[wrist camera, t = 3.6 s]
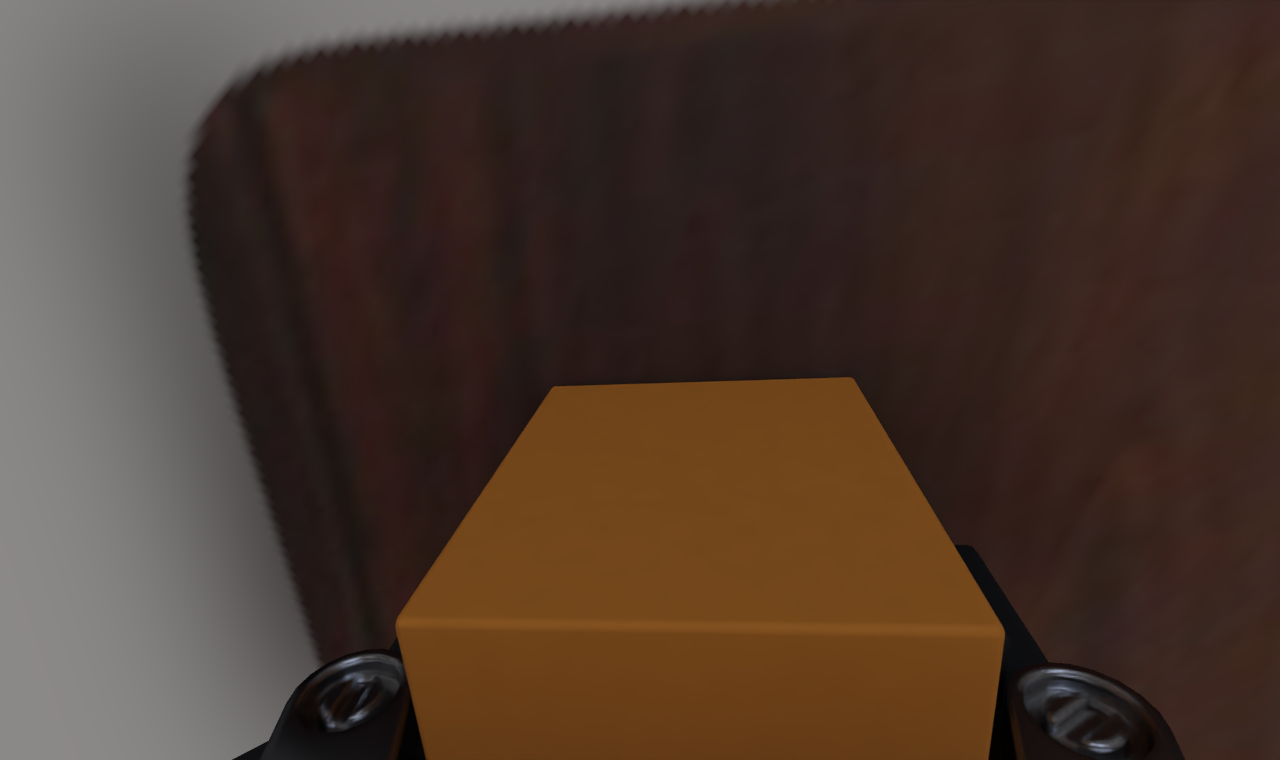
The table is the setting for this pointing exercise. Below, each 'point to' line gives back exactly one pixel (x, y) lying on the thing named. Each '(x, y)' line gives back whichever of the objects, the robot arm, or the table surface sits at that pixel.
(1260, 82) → the table surface
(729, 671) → the orange block
